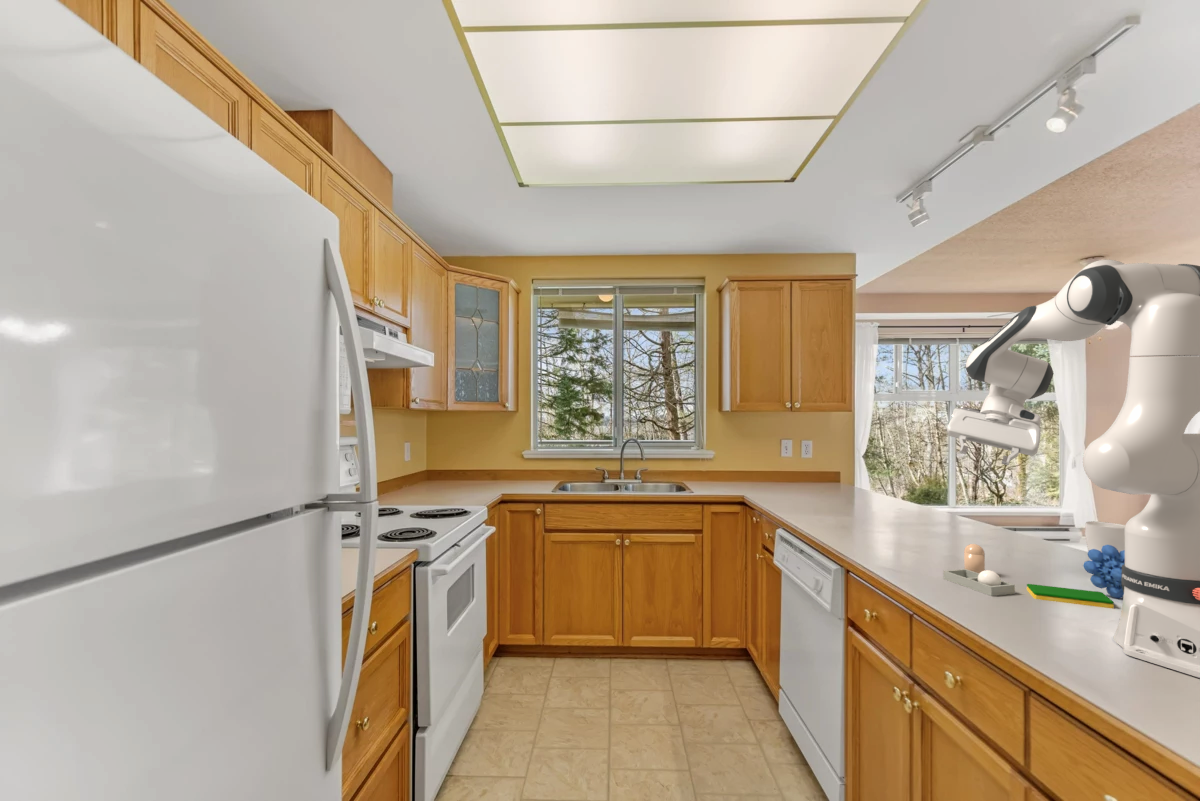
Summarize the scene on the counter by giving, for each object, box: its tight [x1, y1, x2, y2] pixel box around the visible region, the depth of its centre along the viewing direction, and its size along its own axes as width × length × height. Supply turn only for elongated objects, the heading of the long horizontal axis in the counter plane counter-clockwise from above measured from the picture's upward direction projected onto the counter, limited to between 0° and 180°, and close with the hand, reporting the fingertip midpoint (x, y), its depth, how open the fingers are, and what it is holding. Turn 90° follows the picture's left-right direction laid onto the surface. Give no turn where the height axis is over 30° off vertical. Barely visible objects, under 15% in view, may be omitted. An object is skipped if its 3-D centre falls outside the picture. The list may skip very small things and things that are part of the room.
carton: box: [942, 568, 1016, 597], centre depth 134 cm, size 13×7×2 cm, turn 14°
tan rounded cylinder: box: [963, 543, 986, 573], centre depth 144 cm, size 4×4×8 cm
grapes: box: [1082, 545, 1125, 599], centre depth 126 cm, size 12×7×12 cm, turn 57°
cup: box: [1084, 520, 1126, 561], centre depth 149 cm, size 9×9×12 cm
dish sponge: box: [1026, 583, 1115, 609], centre depth 125 cm, size 7×14×2 cm, turn 64°
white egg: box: [978, 569, 1002, 586], centre depth 131 cm, size 5×5×5 cm
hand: (983, 458), depth 145 cm, fingers open, 8 cm apart
